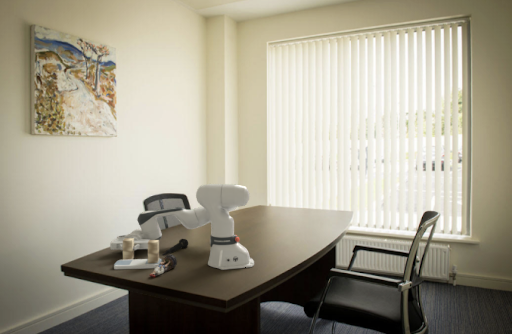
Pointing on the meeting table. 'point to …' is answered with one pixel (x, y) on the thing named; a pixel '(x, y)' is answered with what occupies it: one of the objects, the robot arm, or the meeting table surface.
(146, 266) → the white base board
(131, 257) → the loose pillar
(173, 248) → the microphone
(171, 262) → the figurine
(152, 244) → the standing pillar
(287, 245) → the meeting table surface
